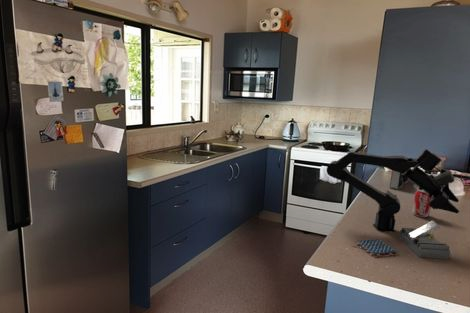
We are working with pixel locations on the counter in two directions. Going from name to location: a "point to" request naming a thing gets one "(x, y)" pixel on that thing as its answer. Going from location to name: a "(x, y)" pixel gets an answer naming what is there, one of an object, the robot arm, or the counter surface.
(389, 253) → the woven mat
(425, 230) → the gray block
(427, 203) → the soda can
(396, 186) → the graphics card
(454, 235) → the counter surface
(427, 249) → the heat sink
